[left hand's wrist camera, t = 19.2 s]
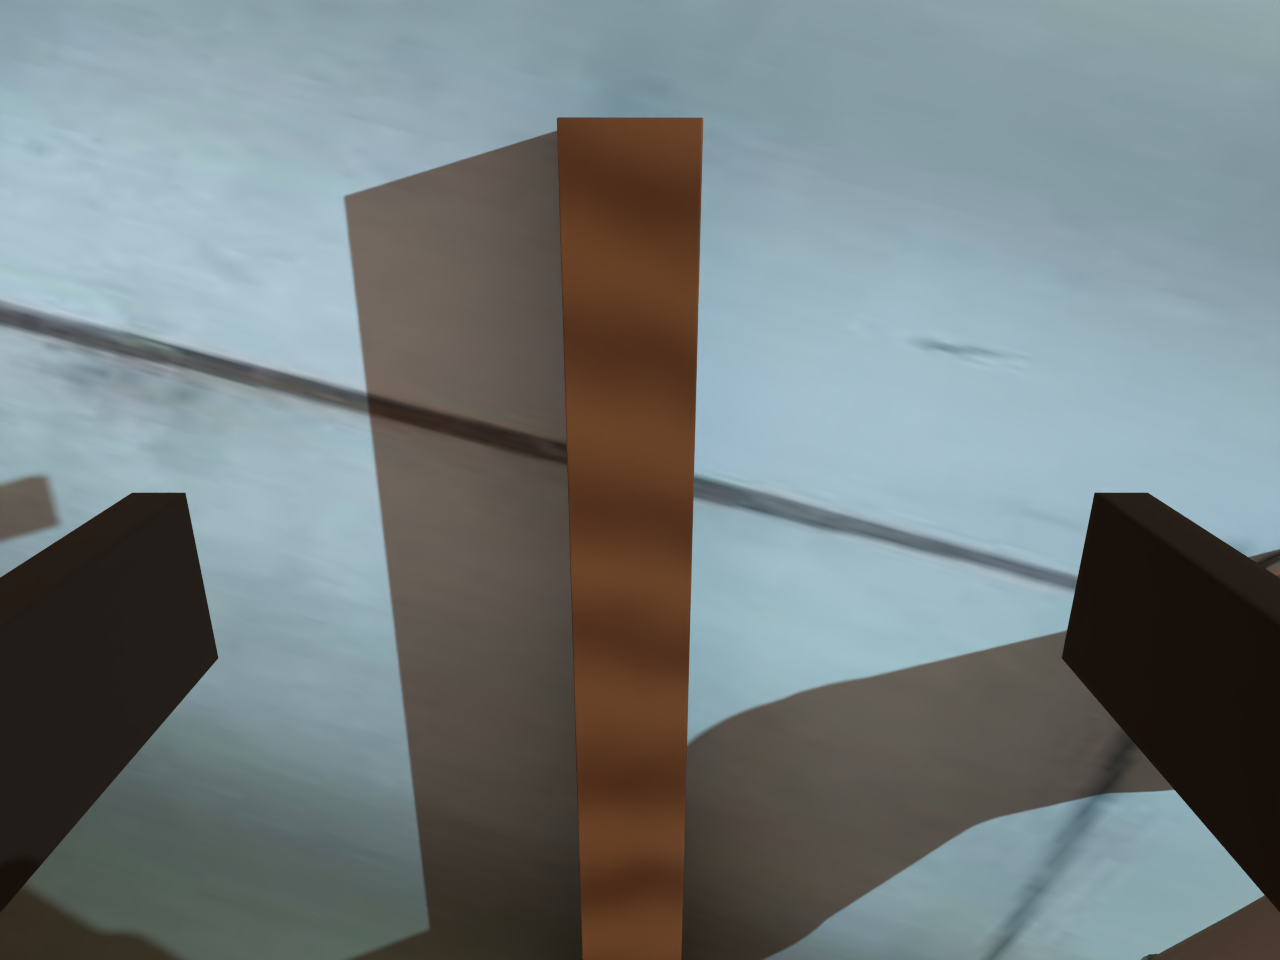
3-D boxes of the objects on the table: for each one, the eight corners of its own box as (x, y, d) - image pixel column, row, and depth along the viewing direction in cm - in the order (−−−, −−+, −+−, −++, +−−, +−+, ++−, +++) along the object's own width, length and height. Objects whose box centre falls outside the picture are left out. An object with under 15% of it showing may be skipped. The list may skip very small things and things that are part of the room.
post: (572, 125, 36) (557, 117, 29) (688, 125, 36) (703, 117, 29) (600, 1271, 65) (596, 1412, 58) (665, 1271, 65) (669, 1412, 58)
